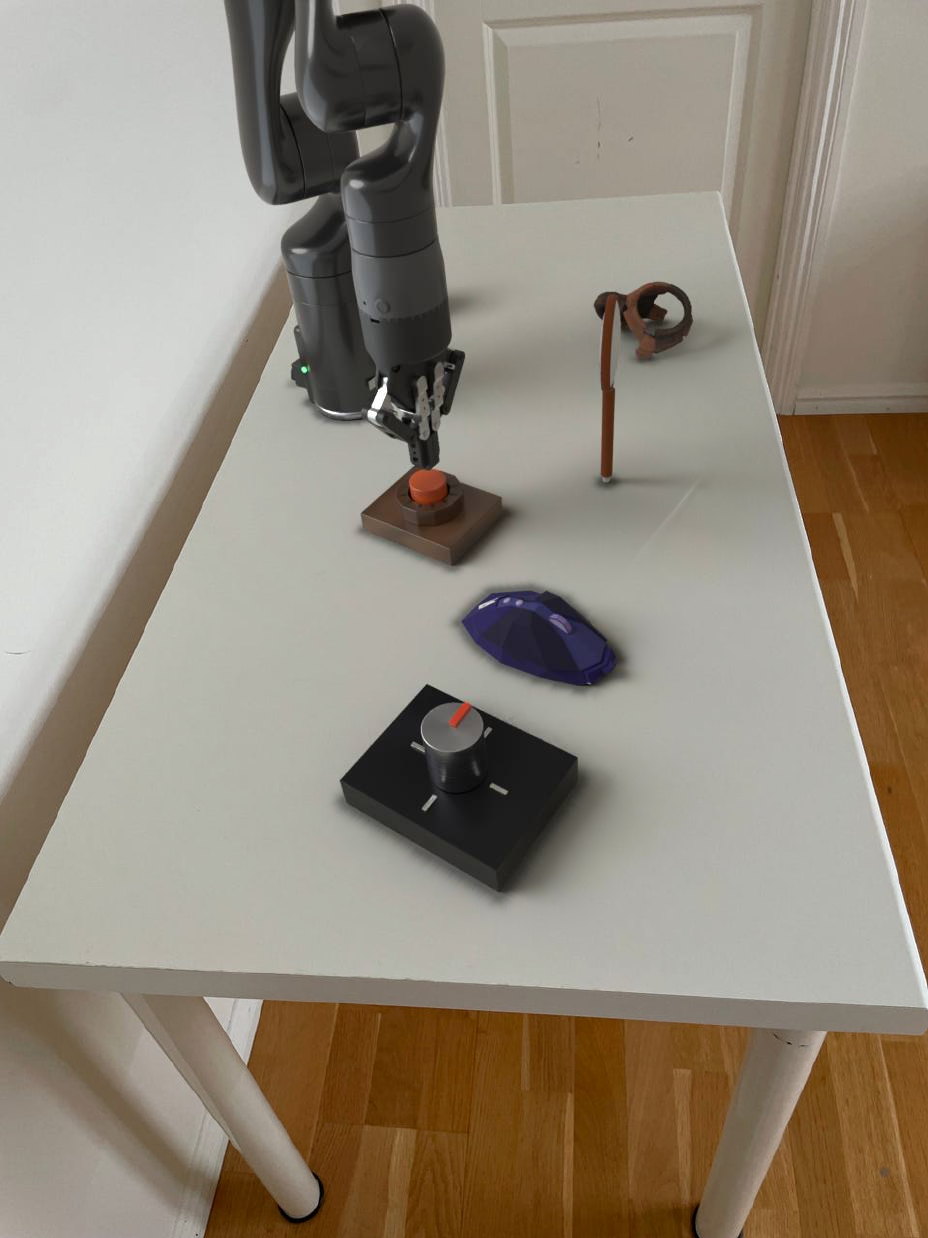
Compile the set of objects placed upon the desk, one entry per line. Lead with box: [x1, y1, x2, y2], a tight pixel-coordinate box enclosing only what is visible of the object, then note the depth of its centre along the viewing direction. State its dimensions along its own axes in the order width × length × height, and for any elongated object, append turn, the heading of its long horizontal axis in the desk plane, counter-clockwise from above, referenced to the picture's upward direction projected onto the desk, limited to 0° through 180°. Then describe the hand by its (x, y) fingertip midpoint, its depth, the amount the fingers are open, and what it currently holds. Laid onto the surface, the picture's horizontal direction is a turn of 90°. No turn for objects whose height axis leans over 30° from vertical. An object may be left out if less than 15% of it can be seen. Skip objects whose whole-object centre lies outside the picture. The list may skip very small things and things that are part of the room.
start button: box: [409, 468, 448, 504], centre depth 92 cm, size 4×4×2 cm
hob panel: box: [339, 683, 579, 893], centre depth 71 cm, size 14×11×3 cm
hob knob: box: [421, 701, 488, 793], centre depth 68 cm, size 4×4×5 cm
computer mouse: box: [460, 590, 617, 686], centre depth 81 cm, size 9×15×4 cm, turn 50°
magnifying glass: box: [599, 294, 622, 483], centre depth 90 cm, size 9×2×20 cm, turn 168°
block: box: [360, 465, 504, 567], centre depth 93 cm, size 11×9×4 cm
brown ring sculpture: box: [593, 281, 694, 360], centre depth 114 cm, size 12×10×8 cm
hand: (426, 464), depth 90 cm, fingers closed
